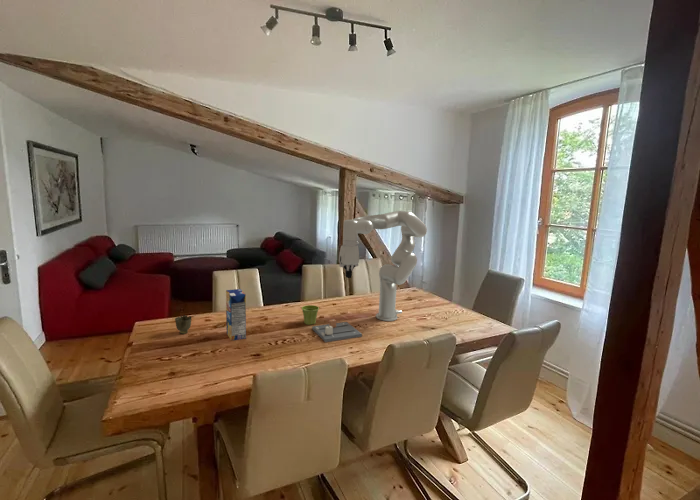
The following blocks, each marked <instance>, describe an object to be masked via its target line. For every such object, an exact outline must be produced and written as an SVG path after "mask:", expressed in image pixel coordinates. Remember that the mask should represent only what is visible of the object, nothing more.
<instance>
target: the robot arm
mask: <svg viewBox="0 0 700 500" xmlns="http://www.w3.org/2000/svg"><path fill="white" fill-rule="evenodd" d="M399 226H401V227H400V231H401V241H400V243H399V245H398V246H397V247H396V249H395V251H394V252H393V254H392V255H391V258H390V261H391V263H392V264H390V263H389V264H388V263H387V264H386V263H385V264H383V265H382V266H380V268H379V270H378V276H379V298H378V299H379V301H378V312H377V313H376V314H375V318H376V319H377V320H378V321H379V320H380V321H384V322H394V321H397V320H398V315H401V314H402V313H403V311H402V310H401V309H399V310H398V309H396V306H397V305H396V302H397V301H396V300H397V285H398V286H399V285H403V284H405V282H406V281H407V280H408V279H409V277H410V275H411V274H412V273H413V271H414V269H415V267H416V266H417V263H418V257H417V255H416V254H415V253H413V251H414V249H415V247H416V242H415V238H418V239H419V238H423V237H425V236H426V235H427V232H428V229H427V226H426V224H425V223H424V222H423V221H422V220H421V219H420V218H419V217H418V216H416V214H414V213H413V212H411V211H406V210H396V211H395V210H394V211H391V212H384V213H380V214H373V215H365V216H358V217H355V218H353V219H345V220H343V230H342V231H343V232H342V245H340V250H339V253H338V254H339V255H338V263H339V267H340V268H343V269H344V270H345V278H347V279H352V276H353V271H354V269H355V268H356V267H359V263H360V250H359V246H358V244H360V241H359V240H358V234H363V235H367V234H368V235H369V234H370V233H371V232H372V231H373V230H386V229H391V228H396V227H399Z"/></svg>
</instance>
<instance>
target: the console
mask: <svg viewBox="0 0 700 500" xmlns="http://www.w3.org/2000/svg"><path fill="white" fill-rule="evenodd" d="M326 326H329V323H328V324H320V325H315V326H312V327H311V328H312V329H311V330H312V331H314V333H315V334H316V335H318V336H319V337H320V338H321V339H322V340H323V342H324V343H330V342H336V341H342V340H343V341H344V340H348V339H349V340H350V339H355V338H362V337H363V333H362V332H360V331H359V330H358V329H357V328H356V327H354V326H353V325H351V324H350V323H349V322H347V321H344V322H336V327H334V328H333V334H331V335H327V334H325V327H326Z"/></svg>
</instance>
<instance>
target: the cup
mask: <svg viewBox="0 0 700 500" xmlns="http://www.w3.org/2000/svg"><path fill="white" fill-rule="evenodd" d="M174 321H175V327H176V330H177V331H179V334H181V335H185V334H187V333H188V331H189V329H190V328H191V325H192V316H191V315H189V316H188V315H185V314H184V315H180V316H176V317H175V318H174Z"/></svg>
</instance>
